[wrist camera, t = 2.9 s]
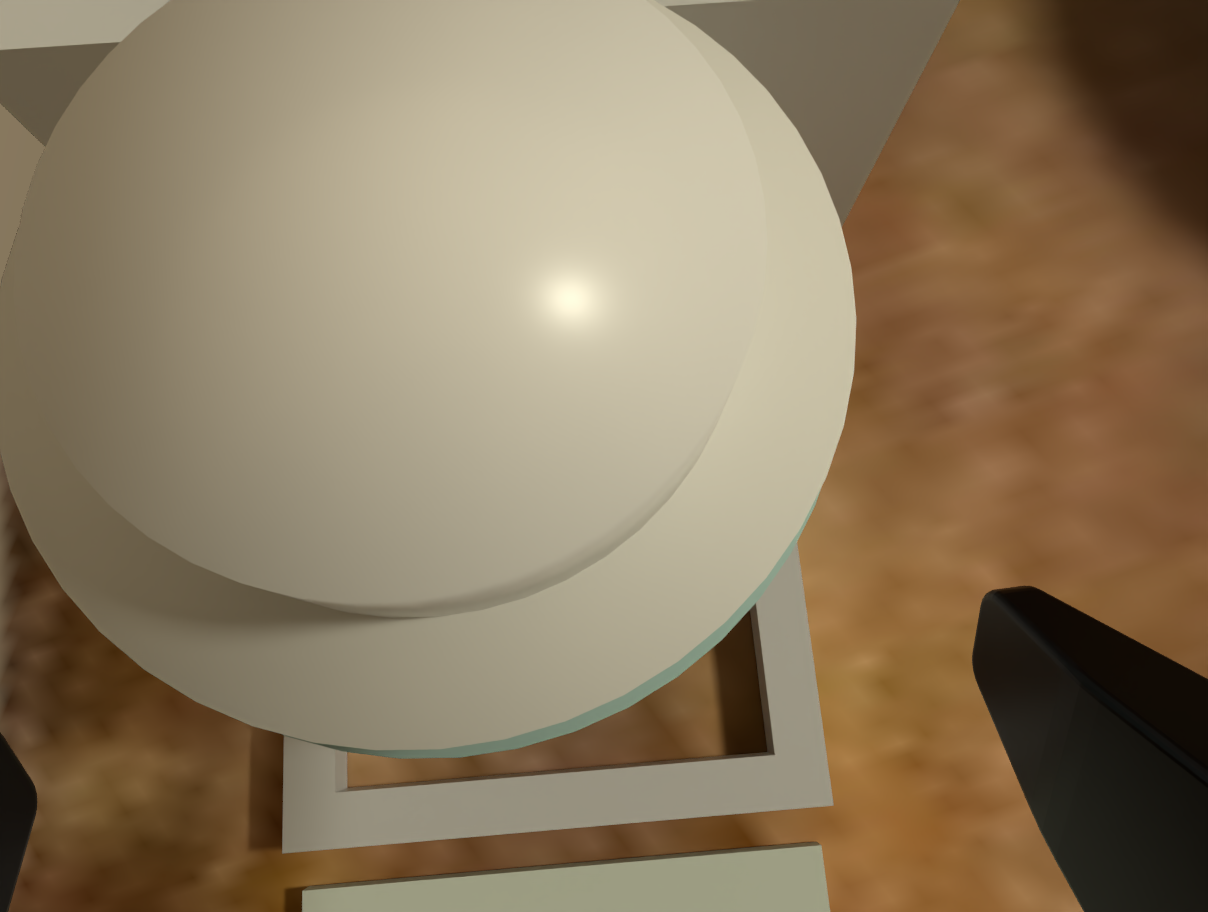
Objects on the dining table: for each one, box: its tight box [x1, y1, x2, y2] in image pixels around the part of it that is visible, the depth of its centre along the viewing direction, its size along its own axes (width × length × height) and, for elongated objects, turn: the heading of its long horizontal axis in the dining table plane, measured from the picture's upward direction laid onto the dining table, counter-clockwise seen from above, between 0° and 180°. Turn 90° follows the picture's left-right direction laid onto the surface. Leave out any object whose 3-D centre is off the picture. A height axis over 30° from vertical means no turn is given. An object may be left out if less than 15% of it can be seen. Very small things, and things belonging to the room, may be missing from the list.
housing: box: [0, 0, 960, 853], centre depth 14 cm, size 15×12×11 cm
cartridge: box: [0, 0, 856, 759], centre depth 12 cm, size 6×6×14 cm
